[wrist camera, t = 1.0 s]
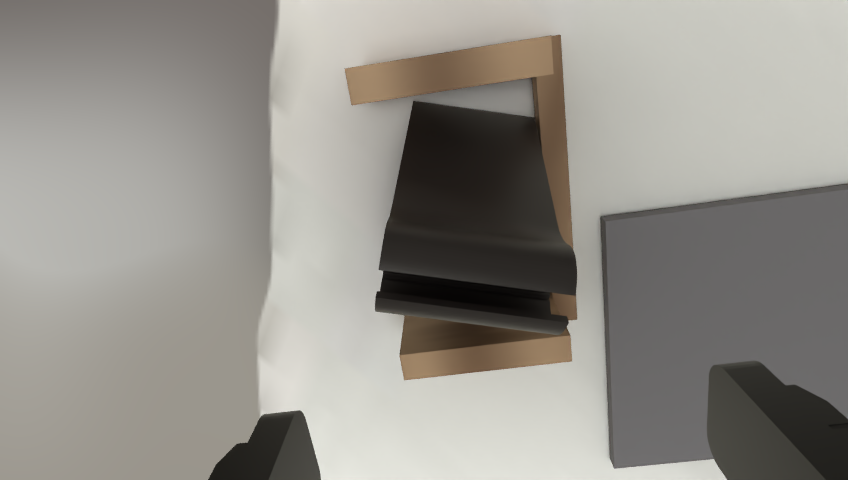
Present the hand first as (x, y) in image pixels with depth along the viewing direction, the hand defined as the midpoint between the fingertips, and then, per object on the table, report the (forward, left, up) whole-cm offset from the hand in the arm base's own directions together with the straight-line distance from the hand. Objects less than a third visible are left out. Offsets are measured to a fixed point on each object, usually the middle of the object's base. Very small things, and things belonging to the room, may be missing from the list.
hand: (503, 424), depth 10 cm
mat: (-15, +10, -18) cm, 25 cm away
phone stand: (0, 0, -18) cm, 18 cm away
